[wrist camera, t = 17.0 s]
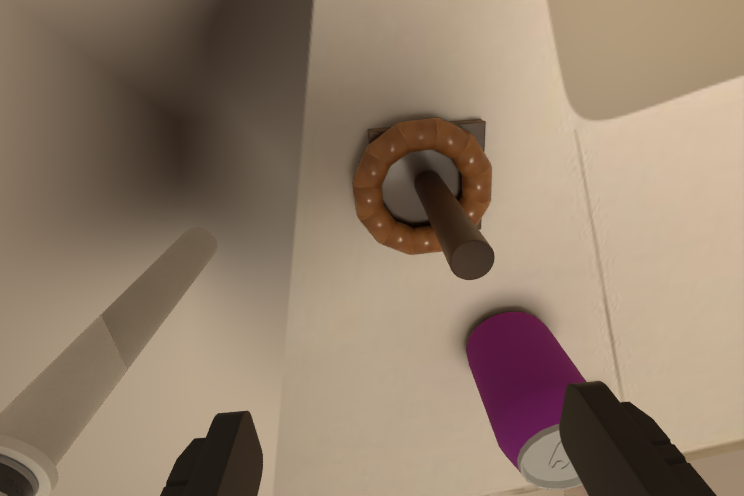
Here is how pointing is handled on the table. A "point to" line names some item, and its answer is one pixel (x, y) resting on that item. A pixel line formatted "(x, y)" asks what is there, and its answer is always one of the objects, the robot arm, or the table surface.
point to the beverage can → (525, 394)
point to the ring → (396, 146)
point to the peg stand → (438, 203)
